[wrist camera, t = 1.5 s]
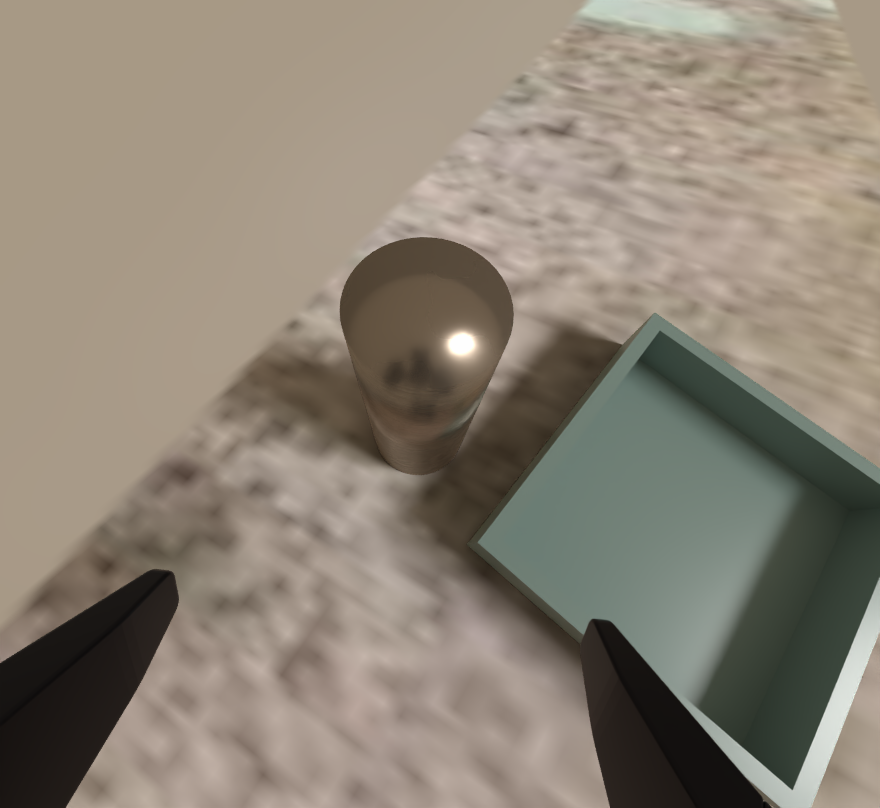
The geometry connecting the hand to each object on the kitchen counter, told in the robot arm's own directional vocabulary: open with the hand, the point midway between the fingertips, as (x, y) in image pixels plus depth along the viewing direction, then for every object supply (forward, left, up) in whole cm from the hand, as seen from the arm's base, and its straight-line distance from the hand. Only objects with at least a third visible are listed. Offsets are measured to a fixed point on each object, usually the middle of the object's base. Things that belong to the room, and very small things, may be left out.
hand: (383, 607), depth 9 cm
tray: (+12, -10, -13) cm, 20 cm away
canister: (+7, +4, -13) cm, 15 cm away
